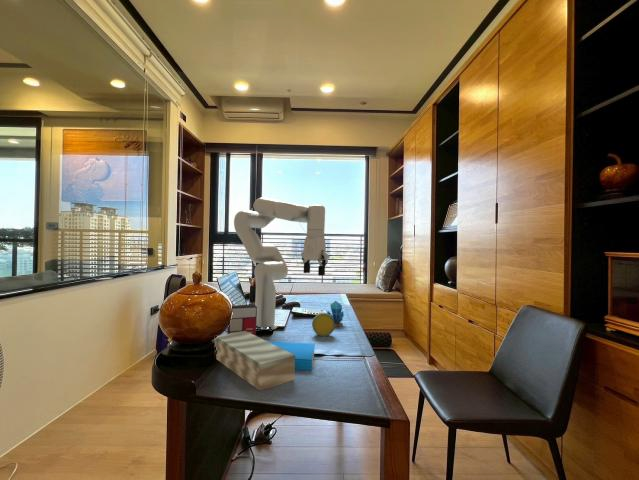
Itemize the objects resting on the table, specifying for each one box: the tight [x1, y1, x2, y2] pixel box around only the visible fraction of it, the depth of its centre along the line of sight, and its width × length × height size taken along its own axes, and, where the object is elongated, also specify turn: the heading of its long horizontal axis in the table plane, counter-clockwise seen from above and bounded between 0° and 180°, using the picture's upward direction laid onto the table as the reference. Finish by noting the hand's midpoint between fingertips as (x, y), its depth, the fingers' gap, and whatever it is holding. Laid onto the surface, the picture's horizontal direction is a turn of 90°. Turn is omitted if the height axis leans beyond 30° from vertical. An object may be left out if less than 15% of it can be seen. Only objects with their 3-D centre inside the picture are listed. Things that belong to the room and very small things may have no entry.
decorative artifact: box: [311, 312, 336, 337], centre depth 145 cm, size 10×7×10 cm
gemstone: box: [326, 300, 345, 328], centre depth 162 cm, size 7×9×12 cm
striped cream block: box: [214, 331, 296, 391], centre depth 104 cm, size 31×12×8 cm, turn 41°
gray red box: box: [226, 304, 257, 336], centre depth 128 cm, size 11×4×15 cm, turn 114°
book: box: [266, 340, 315, 371], centre depth 113 cm, size 17×4×25 cm
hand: (313, 274), depth 136 cm, fingers open, 9 cm apart
